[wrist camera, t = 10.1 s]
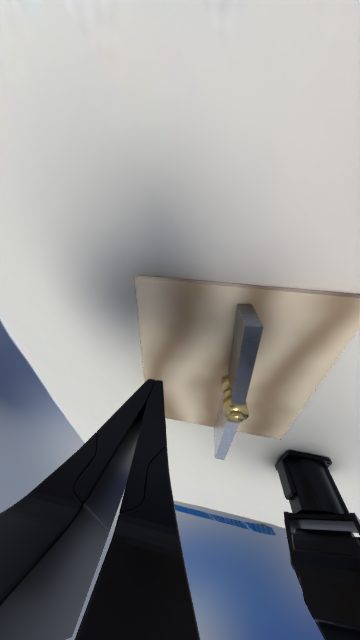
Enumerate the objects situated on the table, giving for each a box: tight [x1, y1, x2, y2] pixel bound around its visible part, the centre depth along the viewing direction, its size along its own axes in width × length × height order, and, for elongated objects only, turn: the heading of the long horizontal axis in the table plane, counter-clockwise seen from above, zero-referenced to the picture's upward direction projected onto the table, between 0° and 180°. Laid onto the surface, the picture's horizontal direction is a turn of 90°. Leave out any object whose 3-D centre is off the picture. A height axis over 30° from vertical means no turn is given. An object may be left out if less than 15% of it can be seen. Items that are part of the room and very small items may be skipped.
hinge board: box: [134, 275, 360, 440], centre depth 20 cm, size 20×22×1 cm
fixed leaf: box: [214, 375, 249, 460], centre depth 20 cm, size 11×2×4 cm, turn 178°
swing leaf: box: [223, 304, 263, 406], centre depth 16 cm, size 11×2×4 cm, turn 3°
